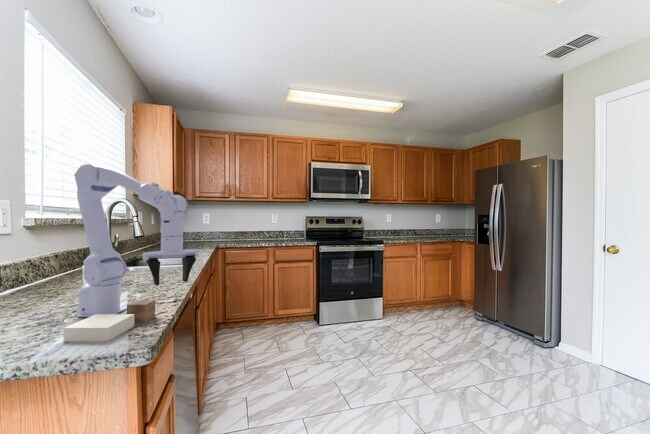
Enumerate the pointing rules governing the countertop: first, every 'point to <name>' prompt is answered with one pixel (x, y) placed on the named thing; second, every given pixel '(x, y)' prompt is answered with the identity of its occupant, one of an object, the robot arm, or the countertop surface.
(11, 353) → the countertop surface
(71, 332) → the cream plinth
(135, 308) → the walnut cube
